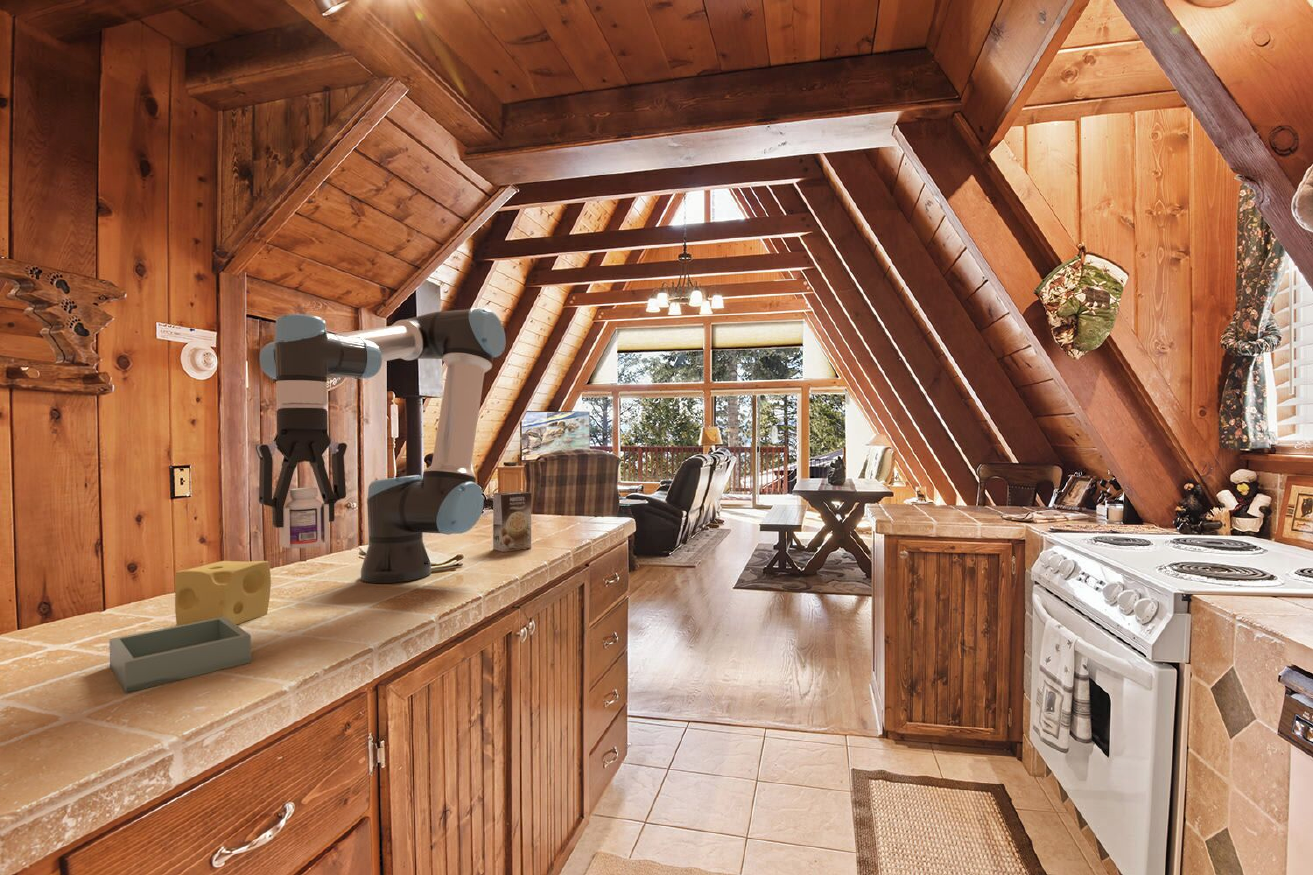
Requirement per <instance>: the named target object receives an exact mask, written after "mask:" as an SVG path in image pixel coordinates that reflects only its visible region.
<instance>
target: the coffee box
mask: <svg viewBox="0 0 1313 875" xmlns="http://www.w3.org/2000/svg"><path fill="white" fill-rule="evenodd" d="M492 509H493V510H492V529H493V530H492V549H493V550H494V551H498V552H502V553H505V552H513V551H520V550H521V549H522V550H528V549H527V548H529V549H531V548H532V492H530V491H529V492H527V491H509V492H493V494H492Z"/></svg>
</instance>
